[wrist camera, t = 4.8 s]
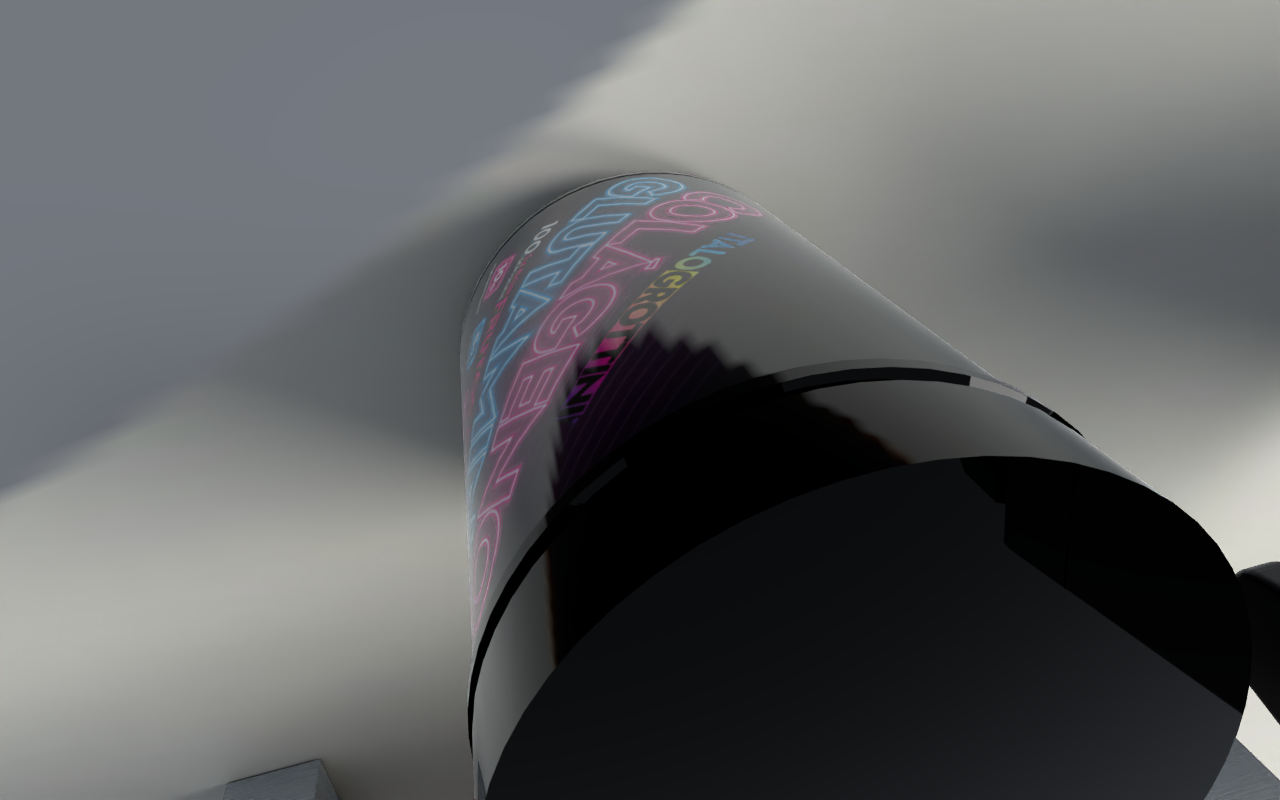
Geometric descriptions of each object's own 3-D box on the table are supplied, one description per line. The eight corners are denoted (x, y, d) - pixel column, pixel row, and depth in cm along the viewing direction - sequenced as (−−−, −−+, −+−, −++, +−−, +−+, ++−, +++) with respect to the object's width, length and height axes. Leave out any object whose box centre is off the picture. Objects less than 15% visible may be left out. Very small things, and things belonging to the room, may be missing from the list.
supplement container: (795, 122, 15) (1329, 349, 6) (822, 450, 18) (1201, 929, 9) (409, 206, 15) (349, 604, 5) (505, 531, 18) (571, 1136, 8)
